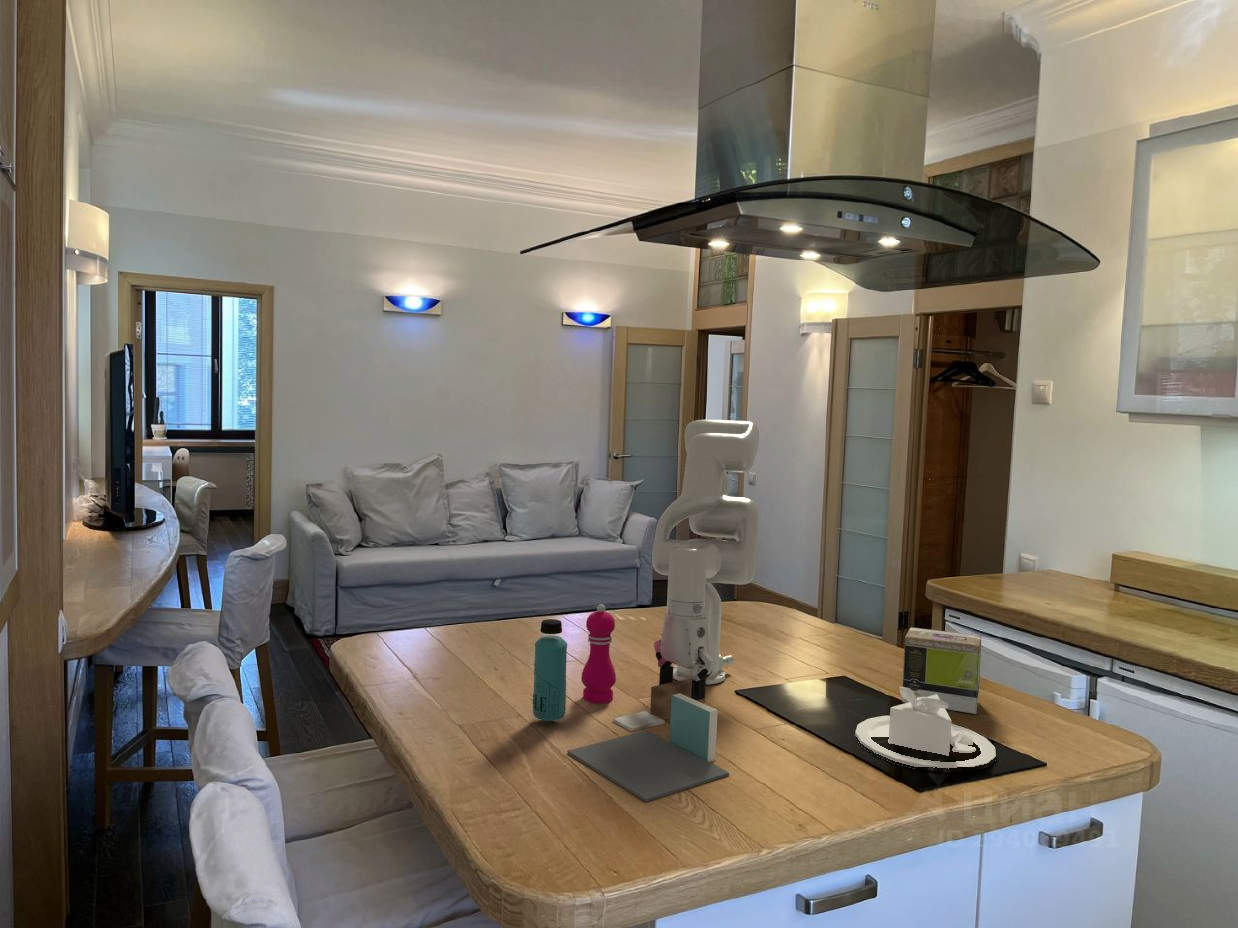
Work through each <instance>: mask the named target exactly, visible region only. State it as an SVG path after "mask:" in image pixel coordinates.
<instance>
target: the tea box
mask: <svg viewBox="0 0 1238 928" xmlns="http://www.w3.org/2000/svg"><path fill="white" fill-rule="evenodd" d="M981 655H982V636H981V635H977V634H969V633H961V632H955V631H954V632H953V631H946V630H937V629H927V628H919V627H912V626H911V627H910V628H909V629H908V631H907V633H906V635H905V637H904V653H903V670H902V671H903V672H902V674H903V675H902V687H905V688H909V689H910V690H911V691H913V692H914V694H915V696H916V700H917V698H919V697H928V696H932V695H935V694H937V695H938V697H939V699H940V700H941V701H944V702H946V703H948V708H945V710H949V711H954V712H955V711H957V712H961V713H967V714H972V715H976V714H977V711H978V701H979V693H980V677H981ZM901 700H902V701H901V702H902V703H904V704H905V703H908V702H909V701H907V700H906V699H904V698H903V697H902V696H901Z"/></svg>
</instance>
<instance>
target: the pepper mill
mask: <svg viewBox="0 0 1238 928" xmlns="http://www.w3.org/2000/svg"><path fill="white" fill-rule="evenodd" d="M585 627H586V630H587V631H588V633H589V634H588V635H587V637H588V639H587V641H588V642H589V655H588V659H587V661H586V663H585V665H584V667H583V669H582V672H581V683H582V684H583V686H584V687H585V688H583V690H582V691H583V692H582V693H583V694H582V698H583V700H584V701H586V702H587V703H590V704H591V703H592V704H600V705H601V704H607V703H610V702H612V701H613V700H614V690H613V689H612V687H614V685H615V684H616V682H617V676H616V671H615V668H614V665H613V662H612V660H611V656H610V646H611V643H612V642H613V640H612V639H613V635H612V634H613V633H612V632H613V631H614V630H615V628H616V621H615V617H614V616H613V615H612V614H611V613H609V612H607V611H606V606H605V605H604V604H603V603H602V604H601V603H600V604H598V605H597V606H596V611H594V612H592V613H591V614H589V615H588V617H587V619H586V624H585Z"/></svg>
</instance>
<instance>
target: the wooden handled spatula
mask: <svg viewBox="0 0 1238 928" xmlns="http://www.w3.org/2000/svg"><path fill="white" fill-rule="evenodd" d="M692 680H695V679H694V678H689V679H685V680H680V681H677V680H675V681H673V682H671V683H667V684H662V685H659V684H658V685H654V686H651V687H650V688H651V689H650V710H649V711H650V712H648V711H647V710H643V711H639V712H635V713H632V714H627V715H623V716H620V717H619V716H618V717H615V718H613V720H612V722H613V723H615V724H616V725H619V726H621V727H622V728H624V729H626V730H628V731H630V732H632V733H633V732H636V731H641V730H645V729H647V728H652V727H655V726H660V725H664V724H665V723H666V722H665V720H667V719H671V700H672V695H675V694H679V693H680V694H683V695H685V696H687V697H689V698H691V688H692ZM696 701H698V702H701V703H703V704H705V705H706V697H705V698H704V699H701V700H696Z"/></svg>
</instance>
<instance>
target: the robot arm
mask: <svg viewBox="0 0 1238 928" xmlns="http://www.w3.org/2000/svg"><path fill="white" fill-rule="evenodd" d="M684 445H685V452H686V458H685V465H684V467H685V468H684V475H683V481H682V488H681V489H682V491H681V494H680V496H679V497H678V498H676V499H675V500H674V501H672V502H671V504H670V505H668V507H666V509H665V510H664V512H663V513H662V514H661V516H660V517H659V519H658V522H657V525H656V529H655V533H654V538H653V539H654V540H653V545H652V546H653V547H652V551H651V552H652V554H651V555H652V556H651V562H652V563H651V564H652V567H653V570H654V571H655V572H656V573H658V574H660V575H663V576H668V577H667V597H666V598H667V600H666V612H665V615H664V619H663V624H662V632H661V639H660V640H657V641H655V642H654V643H653V648H654V651H655V658H656V661H658V662H657V666H658V668H659V677H658V678H659V679H658V680H659V683H658V685H662V684H667V683H671V682H674V680H675V681H680V680H685V679H689V678H694V679H695V680H692V688H691V698H692V699H694V700H701V699H704V698H705V699H706V685H716V684H719V683H722V682H723V681H724V680H725V679H726V672H725V670H723V667H724V666H726V665H731V664H733V663H734V662H735V661H734V660H735V659H734V657H733V655H731V654H730V655H726V656H722V655H721V654H720V646H721V645H720V644H721V625H722V624H721V623H722V607H723V606H722V599H721V597H720V595H719V593H718V591H717V590H716V588H715V586H713V584H716V583H718V584H719V583H720V584H728V585H729V584H730V585H747V584H750V583H751V582H752V581H753V579H754V576H755V572H756V567H757V566H756V565H757V554H758V553H757V552H758V540H759V539H758V538H759V522H760V516H759V508H758V505H757V503H756V501H754V500H753V499H752V498H748V497H741V496H729V488H730V478H729V477H730V476H729V475H728V473H741V474H743V473H747V472H749V471H750V470H751V469H752V467H753V465H754V463H755V459H756V455H757V452H758V448H759V445H760V433H759V428H758V426H757V425H756V424H755V423H754V422H752V421H747V420H727V419H725V420H724V419H695V420H693V421H691V422H689V423H688V424H687V425H686V427H685V430H684ZM686 519H688V525H689V528H690V530H691V532H692V533H693V534H696V535H699V536H703V537H714V538H727V539H735V540H736V541H734V540H733V541H732V540H719V539H712V538H711V539H709V538H708V539H707V538H693V539H692V538H691V539H688V540H680V539H669V538H670V534H671V532H672V530H673V529H674V528H675V527H676V526H677V525H678V524H679V523H680V522H682V521H684V520H686ZM673 664H675V665H673ZM672 665H673V666H672Z"/></svg>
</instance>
